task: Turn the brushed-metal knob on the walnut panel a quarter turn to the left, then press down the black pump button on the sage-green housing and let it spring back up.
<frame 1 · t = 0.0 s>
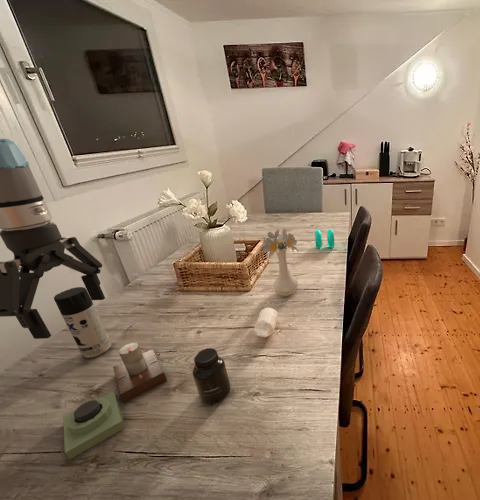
hand: (73, 316, 62), 22 cm above the table, tool pointing down, fingers open, 13 cm apart
supplement bottle: (216, 393, 69), on the table
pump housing: (95, 425, 62), on the table
dial panel: (141, 378, 73), on the table
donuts: (325, 247, 152), on the table
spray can: (98, 350, 83), on the table
pump button: (87, 411, 60), point 4 cm above the table, slide at 0.1 cm
roll: (266, 333, 89), on the table
flower vase: (285, 291, 111), on the table
dial knob: (133, 358, 71), point 7 cm above the table, hinge at 0.0°
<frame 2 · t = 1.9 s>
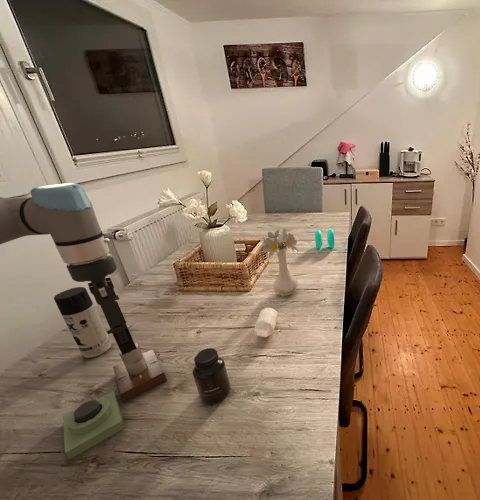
hand: (124, 337, 68), 13 cm above the table, tool pointing down, fingers open, 13 cm apart
nothing on the table moved.
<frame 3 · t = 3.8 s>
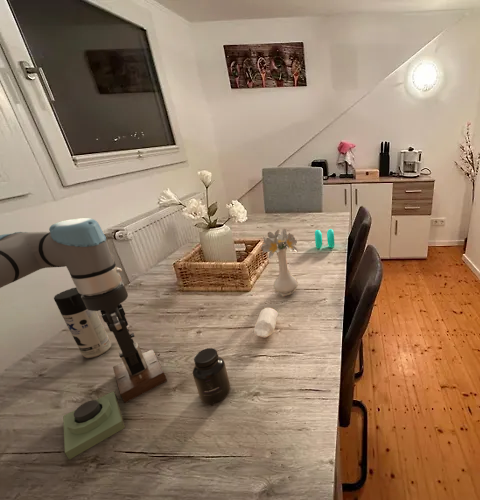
hand: (136, 366, 72), 4 cm above the table, tool pointing down, fingers closed on dial knob, 4 cm apart
dial knob: (133, 358, 71), point 7 cm above the table, hinge at 0.0°, touching gripper
everything else where it was.
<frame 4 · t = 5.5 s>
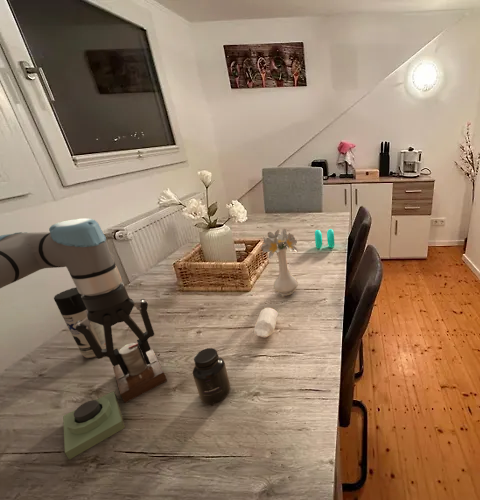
hand: (136, 366, 72), 4 cm above the table, tool pointing down, fingers open, 4 cm apart
dial knob: (133, 358, 71), point 7 cm above the table, hinge at 90.2°
everything else where it was.
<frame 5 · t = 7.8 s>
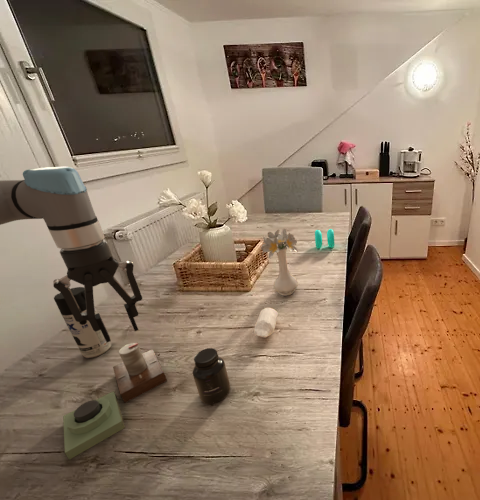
hand: (122, 333, 68), 15 cm above the table, tool pointing down, fingers open, 5 cm apart
nothing on the table moved.
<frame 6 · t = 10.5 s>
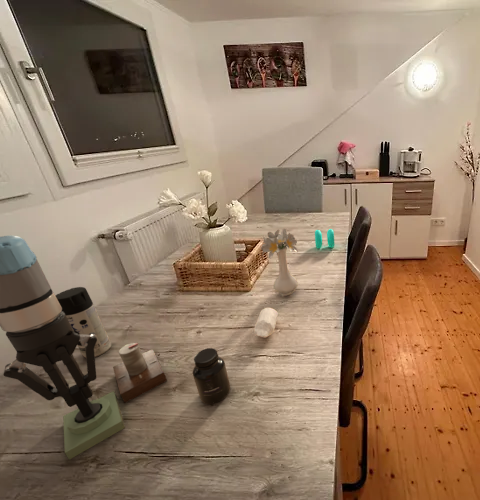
hand: (87, 410, 60), 5 cm above the table, tool pointing down, fingers closed
pump button: (89, 414, 60), point 4 cm above the table, slide at -0.8 cm, touching gripper
everything else where it was.
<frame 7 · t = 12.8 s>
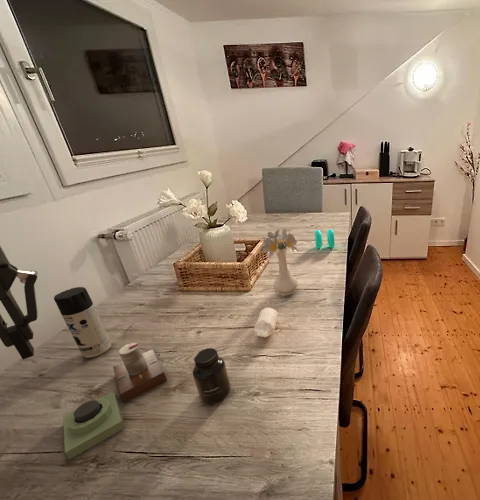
hand: (28, 354, 57), 18 cm above the table, tool pointing down, fingers closed
pump button: (87, 411, 60), point 4 cm above the table, slide at 0.1 cm
everything else where it was.
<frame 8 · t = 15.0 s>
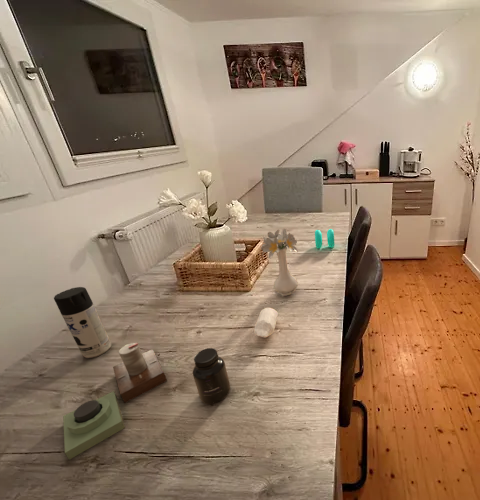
nothing on the table moved.
at the end: dial knob at +90° (first picture: +0°); pump button pushed in 1.0 cm at the most during the clip, back to where it started at the end; pump button slide at 0.1 cm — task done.
